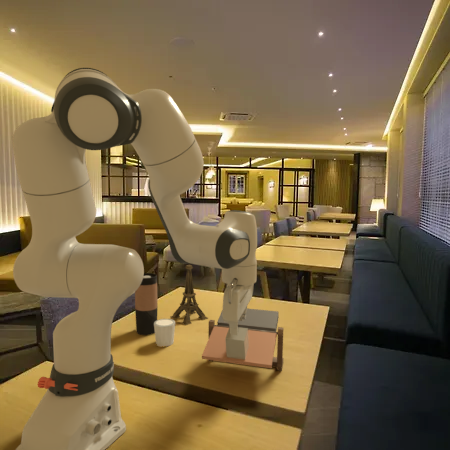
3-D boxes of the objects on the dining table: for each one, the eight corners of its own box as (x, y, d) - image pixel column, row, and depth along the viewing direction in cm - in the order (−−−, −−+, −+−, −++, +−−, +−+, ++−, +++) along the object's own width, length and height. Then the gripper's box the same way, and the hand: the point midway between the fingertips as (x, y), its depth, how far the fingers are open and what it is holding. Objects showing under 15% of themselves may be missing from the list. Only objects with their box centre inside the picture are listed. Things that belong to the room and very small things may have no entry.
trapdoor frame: (281, 371, 97) (283, 329, 96) (208, 360, 103) (208, 321, 101) (283, 362, 102) (284, 323, 101) (212, 353, 107) (213, 315, 106)
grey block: (245, 359, 88) (244, 340, 86) (226, 357, 89) (225, 338, 87) (248, 346, 92) (247, 328, 90) (231, 344, 94) (229, 326, 91)
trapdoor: (271, 372, 87) (271, 364, 86) (202, 362, 91) (201, 355, 90) (280, 318, 106) (280, 311, 105) (222, 312, 111) (222, 306, 110)
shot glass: (171, 348, 110) (170, 327, 110) (150, 346, 112) (150, 325, 111) (178, 339, 117) (178, 319, 116) (158, 337, 118) (158, 317, 118)
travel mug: (155, 325, 129) (155, 272, 126) (159, 333, 121) (159, 277, 119) (134, 328, 126) (133, 273, 124) (137, 336, 119) (136, 279, 117)
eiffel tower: (170, 317, 137) (169, 254, 134) (192, 311, 144) (192, 251, 141) (185, 325, 129) (185, 258, 127) (208, 318, 136) (208, 255, 133)
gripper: (243, 286, 78) (242, 345, 79) (257, 266, 97) (256, 314, 99) (215, 284, 79) (215, 342, 81) (235, 265, 99) (235, 312, 100)
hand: (238, 326), depth 90 cm, fingers open, 8 cm apart
